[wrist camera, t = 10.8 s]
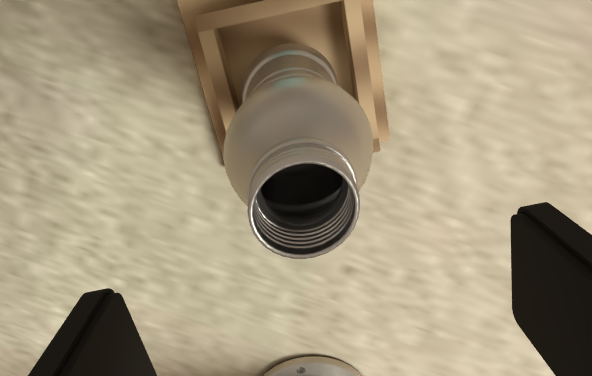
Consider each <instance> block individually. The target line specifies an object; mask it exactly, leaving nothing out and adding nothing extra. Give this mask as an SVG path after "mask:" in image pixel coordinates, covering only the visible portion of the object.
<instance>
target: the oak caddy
mask: <svg viewBox="0 0 592 376" xmlns="http://www.w3.org/2000/svg"><path fill="white" fill-rule="evenodd" d="M177 3H178V6H179V9H180V13H181V16H182V20H183V23H184V26H185V30H186V33H187V37H188V40H189V43H190V47H191V50H192V54H193V57H194V60H195V64H196V67H197V71H198V74H199V78H200V81H201V84H202V88H203V91H204V95H205V98H206V101H207V105H208V108H209V112H210V115H211V118H212V122H213V125H214V129H215V132H216V136H217V139H218V142H219V146H220V149H221V153H222V156H223V152H224V141H225V137H226V132H227V129H228V127H229V125H230V123H231V120H232V118H233V116H234V115H235V113H236V111H237V110H238V109H239V107H240V106H241V105H242V98H241V89H242V83H243V79H244V76H245V74H246V72H247V70H248V68H249V66H250V65H251V64H252V62H253V61H254V60H255V59H256V58H257V57H258V56H259V55H260V54H261V53H263V52H264V51H266V50H268V49H269V48H272V47H274V46H277V45H280V44H286V43H298V44H303V45H306V46H309V47H311V48H313V49H315V50H317V51H318V52H320V53H321V54H322V55H323V56H325V58H326V59H327V60H328V61H329V62H330V64H331V66H332V68H333V69H334V71H335V74H336V78H337V82H338V86H340V87H341V88H342V89H343V90H345V91H346V92H347V93H349V94H350V95H351V96H352V97H353V98H354V99H355V100H356V101H357V102H358V103H359V105H360V106H361V107H362V108H363V110H364V112H365V114H366V116H367V118H368V120H369V122H370V126H371V130H372V134H373V152H378V151H380V144H379V142H383V141H388V140H390V136H389V128H388V120H387V112H386V104H385V95H384V87H383V79H382V71H381V63H380V55H379V47H378V38H377V30H376V22H375V14H374V6H373V0H177Z"/></svg>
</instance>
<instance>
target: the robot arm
mask: <svg viewBox="0 0 592 376" xmlns="http://www.w3.org/2000/svg"><path fill="white" fill-rule="evenodd" d="M511 269H512V310H513V315H514V318H515V320H516V322H517V324H518V325H519V327H520V328H521V329H522V331H523V332H524V333H525V335H526V336H527V337H528V339H529V340H530V342H531V343H532V344H533V346H534V347H535V348H536V350H537V351H538V352H539V354H540V355H541V356H542V358H543V359H544V360H545V362H546V363H547V365H548V366H549V367H550V369H551V370H552V371H553V373H554V374H555V375H556V376H592V235H591V234H590V233H588V232H587V231H586V230H584V229H583V228H582V227H580V226H579V225H578V224H576V223H575V222H573V221H572V220H571V219H569V218H568V217H567V216H565V215H564V214H563V213H561V212H560V211H559V210H557V209H556V208H555V207H553V206H552V205H551V204H549V203H547V202H544V203H539V204H534V205H529V206H524V207H520V208H519V209H518V212H517V214H516V215H513V216H512V217H511ZM28 376H157V375H156V372H155V370H154V368H153V365H152V363H151V361H150V358H149V356H148V354H147V352H146V349H145V347H144V345H143V343H142V340H141V338H140V336H139V333H138V331H137V329H136V327H135V324H134V322H133V320H132V317H131V315H130V313H129V311H128V308H127V306H126V304H125V301H124V299H123V297H122V295H121V294H120V293H114V291H113V290H112V289H109V288H107V289H102V290H97V291H92V292H87V293H84V294H83V295H82V296H81V298H80V299H79V301H78V302H77V304H76V305H75V307H74V308H73V310H72V311H71V313H70V314H69V316H68V317H67V319H66V320H65V322H64V323H63V325H62V326H61V328H60V329H59V331H58V332H57V333H56V335H55V336H54V338H53V339H52V341H51V342H50V344H49V345H48V347H47V348H46V350H45V351H44V353H43V354H42V356H41V357H40V359H39V360H38V362H37V363H36V365H35V366H34V368H33V369H32V371H31V372H30V373H29V375H28ZM263 376H361V374H360V373H359V372H358V371H356V370H355V369H354V368H353V367H351V366H350V365H348V364H346V363H344V362H342V361H338V360H335V359H332V358H326V357H301V358H295V359H292V360H288V361H285V362H283V363H281V364H279V365H277V366H275V367H273V368H272V369H270V370H269V371H267V372H266V373H265V374H264V375H263Z"/></svg>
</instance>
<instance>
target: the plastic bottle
mask: <svg viewBox="0 0 592 376" xmlns="http://www.w3.org/2000/svg"><path fill="white" fill-rule="evenodd" d="M241 98H242V105H241V106H240V107H239V109H238V110H237V111H236V113H235V115H234V116H233V118H232V120H231V123H230V125H229V127H228V129H227V132H226V137H225V141H224V152H223V159H224V164H225V170H226V173H227V176H228V178H229V180H230V183H231V185H232V187H233V188H234V190H235V192H236V193H237V195H238V196H239V198H240V199H241V200H242V202H244V203H245V204H246V205H247V206H248V217H249V222H250V226H251V228H252V231H253V233H254V235H255V236H256V238H257V239H258V240H259V242H260V243H262V244H263V245H264V246H265V247H266V248H267V249H269V250H270V251H272V252H274V253H276V254H278V255H281V256H283V257H288V258H294V259H306V258H313V257H317V256H320V255H323V254H326V253H327V252H329V251H331V250H333V249H335V248H336V247H337V246H339V245H340V244H341V243H343V242H344V240H345V239H346V238H347V237H348V236H349V235H350V233H351V232H352V230H353V229H354V227H355V224H356V222H357V219H358V215H359V209H360V200H359V193H358V192H359V191H360V189H361V187H362V186H363V184H364V183H365V180H366V178H367V175H368V172H369V170H370V165H371V160H372V154H373V134H372V130H371V126H370V122H369V120H368V118H367V116H366V114H365V112H364V110H363V108H362V107H361V106H360V105H359V103H358V102H357V101H356V100H355V99H354V98H353V97H352V96H351V95H350V94H349V93H347V92H346V91H345V90H343V89H342V88H341V87H340V86H338V82H337V78H336V74H335V71H334V69H333V68H332V66H331V64H330V62H329V61H328V60H327V59H326V58H325V56H323V55H322V54H321V53H320V52H318V51H317V50H315V49H313V48H311V47H309V46H306V45H303V44H298V43H286V44H280V45H277V46H274V47H272V48H269V49H268V50H266V51H264V52H263V53H261V54H260V55H259V56H258V57H257V58H256V59H255V60H254V61H253V62H252V64H251V65H250V66H249V68H248V70H247V72H246V74H245V76H244V79H243V83H242V89H241Z"/></svg>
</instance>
